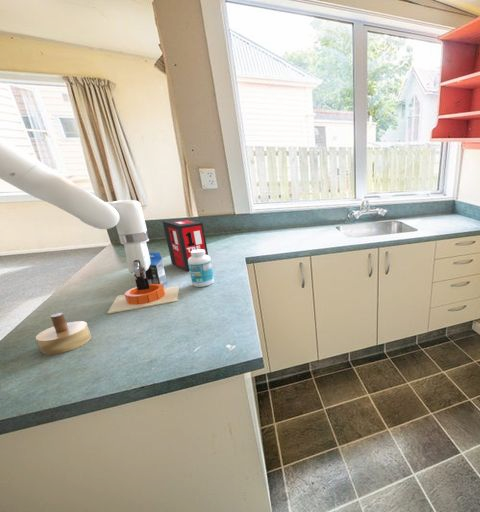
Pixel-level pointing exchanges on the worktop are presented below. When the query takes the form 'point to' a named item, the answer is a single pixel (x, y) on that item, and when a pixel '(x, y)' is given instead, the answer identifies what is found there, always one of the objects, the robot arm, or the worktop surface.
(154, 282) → the label tape box
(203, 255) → the pill bottle
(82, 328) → the stake stand
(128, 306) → the mat
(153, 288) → the ring
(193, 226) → the cleaning product box
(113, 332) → the worktop surface
